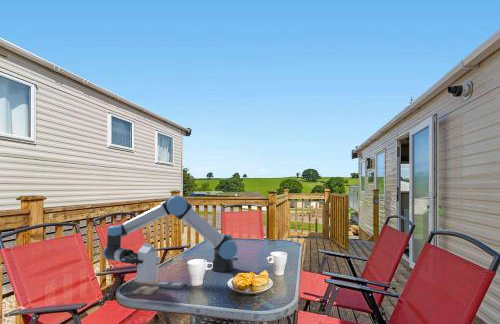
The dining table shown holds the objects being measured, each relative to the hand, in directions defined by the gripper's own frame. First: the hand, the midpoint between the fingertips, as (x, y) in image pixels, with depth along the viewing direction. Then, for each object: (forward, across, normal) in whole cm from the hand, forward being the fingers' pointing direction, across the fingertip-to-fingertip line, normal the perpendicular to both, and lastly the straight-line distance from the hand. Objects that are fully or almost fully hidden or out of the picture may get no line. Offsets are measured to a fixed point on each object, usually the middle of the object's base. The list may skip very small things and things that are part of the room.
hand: (153, 261), depth 164 cm
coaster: (-5, 0, -16) cm, 17 cm away
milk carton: (-5, 0, -11) cm, 12 cm away
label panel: (0, -13, -16) cm, 21 cm away
